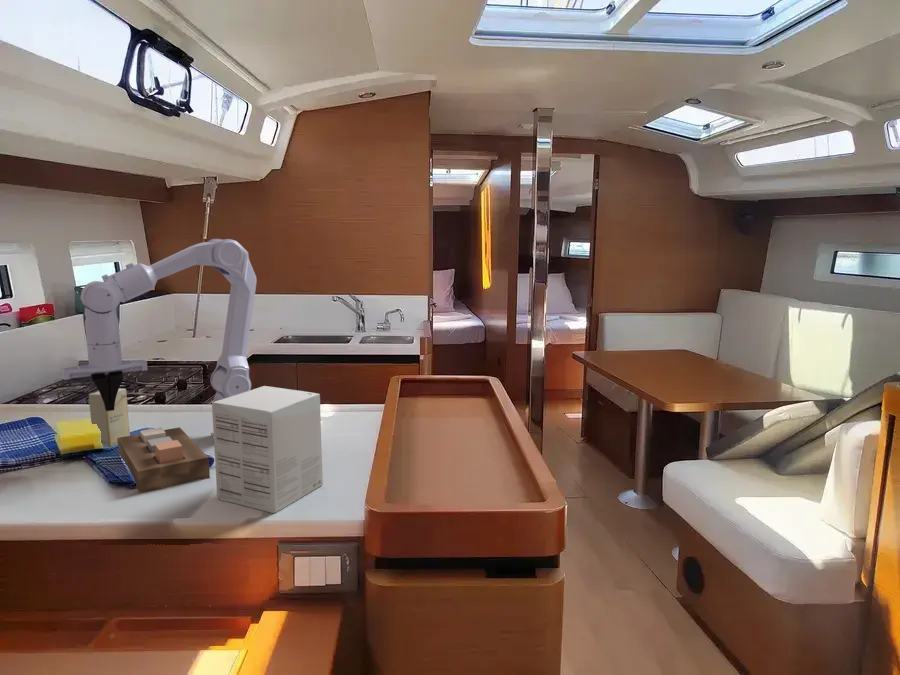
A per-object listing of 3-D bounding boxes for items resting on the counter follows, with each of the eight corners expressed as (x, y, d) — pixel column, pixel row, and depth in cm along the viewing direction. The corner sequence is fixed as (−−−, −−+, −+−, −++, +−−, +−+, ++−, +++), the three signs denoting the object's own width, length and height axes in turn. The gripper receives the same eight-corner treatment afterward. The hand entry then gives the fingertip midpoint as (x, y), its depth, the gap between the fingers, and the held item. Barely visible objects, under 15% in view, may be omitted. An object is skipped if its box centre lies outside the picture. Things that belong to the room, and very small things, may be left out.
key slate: (170, 453, 123) (169, 436, 122) (175, 458, 120) (173, 441, 119) (148, 457, 120) (147, 440, 120) (152, 463, 117) (151, 445, 117)
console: (180, 445, 132) (179, 427, 132) (209, 477, 115) (208, 457, 114) (118, 456, 125) (117, 437, 125) (139, 493, 108) (137, 471, 107)
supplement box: (268, 472, 118) (264, 384, 115) (324, 485, 112) (321, 392, 109) (215, 499, 106) (209, 401, 103) (274, 514, 100) (270, 411, 97)
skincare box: (110, 451, 128) (105, 395, 126) (92, 450, 129) (87, 394, 127) (131, 441, 134) (127, 388, 132) (114, 440, 135) (109, 386, 133)
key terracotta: (178, 457, 117) (177, 439, 116) (183, 463, 114) (182, 445, 113) (155, 461, 115) (154, 444, 114) (160, 468, 111) (159, 450, 111)
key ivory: (162, 443, 128) (161, 427, 128) (166, 448, 125) (165, 432, 124) (141, 447, 126) (140, 430, 125) (145, 452, 123) (144, 436, 122)
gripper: (140, 336, 127) (145, 399, 130) (58, 343, 119) (65, 410, 121) (147, 341, 122) (152, 407, 124) (61, 349, 113) (68, 419, 116)
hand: (109, 409), depth 122 cm, fingers closed
